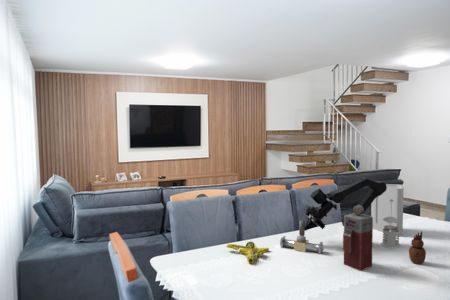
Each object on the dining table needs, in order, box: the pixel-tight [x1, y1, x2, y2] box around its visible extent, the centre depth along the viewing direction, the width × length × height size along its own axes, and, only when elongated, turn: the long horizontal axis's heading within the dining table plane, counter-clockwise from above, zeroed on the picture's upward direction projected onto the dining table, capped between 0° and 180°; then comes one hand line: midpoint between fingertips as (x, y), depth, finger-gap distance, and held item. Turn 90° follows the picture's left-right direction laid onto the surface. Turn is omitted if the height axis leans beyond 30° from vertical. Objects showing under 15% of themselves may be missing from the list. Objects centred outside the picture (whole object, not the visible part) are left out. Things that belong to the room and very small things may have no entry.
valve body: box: [279, 235, 324, 255], centre depth 174 cm, size 22×6×5 cm, turn 61°
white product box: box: [370, 183, 404, 237], centre depth 205 cm, size 19×15×28 cm
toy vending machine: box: [342, 204, 374, 271], centre depth 152 cm, size 9×11×28 cm
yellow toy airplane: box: [226, 241, 270, 264], centre depth 166 cm, size 22×6×20 cm
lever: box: [296, 220, 307, 242], centre depth 177 cm, size 11×4×8 cm, turn 165°
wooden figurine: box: [408, 230, 427, 265], centre depth 155 cm, size 7×6×15 cm
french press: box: [380, 199, 401, 249], centre depth 180 cm, size 10×12×25 cm
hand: (303, 230), depth 182 cm, fingers closed, pressing on lever
